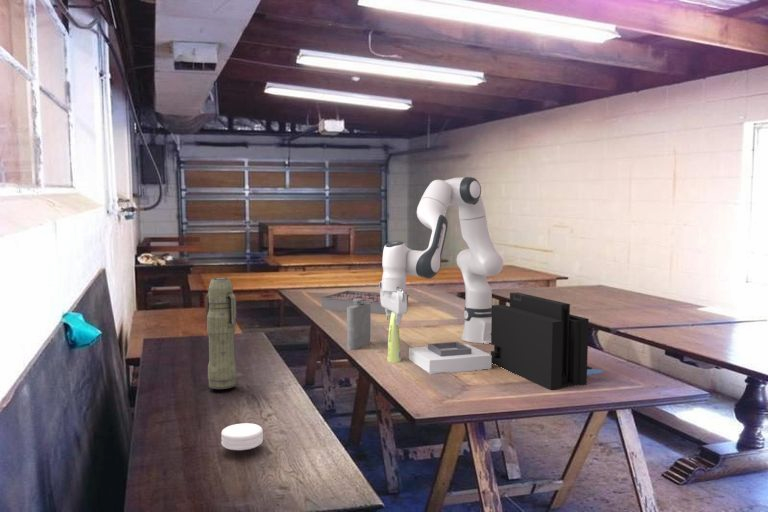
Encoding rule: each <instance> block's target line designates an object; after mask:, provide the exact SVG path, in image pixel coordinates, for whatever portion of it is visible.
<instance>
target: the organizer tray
mask: <svg viewBox="0 0 768 512" xmlns="http://www.w3.org/2000/svg"><path fill="white" fill-rule="evenodd" d="M403 292H404V293H405V294H406V296H407V306H408V305H409V297H410V294H408V293H407V291H403ZM320 299H321V300H320V305H321V308H320V309H321V310H325V311H327V310H328V311H338V312H339V311H340V312H347V307H349V306H352V305H354V302H353V299H362V302H361V303H370V314H376V315H386V311H385V308H384V307H382V306H381V301H380V292H375V291H373V292H372V291H360V290H359V291H358V290H343V291H340V292H336V293H333V294H329V295H325V296H321V297H320ZM391 312H392V311H391Z"/></svg>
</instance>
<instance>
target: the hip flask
mask: <svg viewBox="0 0 768 512" xmlns="http://www.w3.org/2000/svg"><path fill="white" fill-rule="evenodd" d="M353 302H354V305H352V306H349V307H347V311H346V316H347V317H346V326H347V327H346V328H347V329H346V333H347V334H346V350H347V351H356V350H358V349H360V348H362V347H365V346H367V345H370V344H371V313H370V303H361V302H362V299H353Z"/></svg>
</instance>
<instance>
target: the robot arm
mask: <svg viewBox="0 0 768 512" xmlns="http://www.w3.org/2000/svg"><path fill="white" fill-rule="evenodd" d="M481 194H482V188H481V184H480V182H479V181H478V180H477V178H475V177H471V176H465V177H462V176H461V177H452V178H449V179H445V180H444V179H434V180H432V181H431V182H430V183H429V185H428V186H427V188H426V189H425V191H424V192H423V195H422V196H421V198H420V200H419V203H418V205H417V208H416V216H417V219H418V220H419V222H420V223H421V224H422V225H424V226H425V227H426V228H428V229H429V230H431V235H430V238H429V242H428V243H429V244H428V247H427V248H426V249H425V250H415V249H411V248H410V247H407V246H406V243H405V242H403V241H401V240H400V241H399V240H398V241H397V240H396V241H389V242H387V243H386V244H385V245H384V247H383V250H382V263H381V265H382V271H383V272H382V276H381V281H380V282H378V288H379V289H380V290H379V293H380V301H381V306H382V307H384V308H385V311H386V314H385V316H386V321H388V322H390V317H391V311H392V312H394V313H396V320H395V325H398V326H401V323H402V321H401V320H402V318H403V315H406V314H407V313H408V305H407V296H406V294H405V293H404V292H406V291H407V290H406V289H407V288H406V287H407V276H414V277H421V278H424V279H432V278H434V277H436V275H438V273H439V272H440V269H441V264H442V254H443V249H444V245H445V241H446V237H447V232H448V226H449V223H448V219H447V217H446V213H447V210H448V208H449V206H457V208H458V217H459V226H460V232H461V237H462V239H463V241H464V242H465V243H466V244H467V246H468V248H465V249H463V250H461V251H459V253H458V254H457V256H456V264H457V265H456V266H457V267H458V269H460V272H461V275H462V279H463V283H464V288H465V289H464V290H465V306H464V311H463V313H464V314H463V317H464V324H463V331H462V335H461V340H462V341H463V342H468V343H472V344H473V343H475V344H483V343H484V344H483V345H490V344H489V343H491V322H492V304H493V303H492V302H493V296H492V294H493V289H492V287H491V286H490V285H489V282H488V279H487V277H492V276H497V275H499V273H501V271H502V269H503V267H504V260H503V258H502V255H500V254H499V252H498V251H497V250H496V248H495V246H494V244H493V242H492V241H493V240H492V239H491V236H490V233H489V228H488V221H487V216H486V209H485V205H484V201H483V199H482V196H481ZM406 275H407V276H406Z"/></svg>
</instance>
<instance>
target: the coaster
mask: <svg viewBox="0 0 768 512" xmlns="http://www.w3.org/2000/svg"><path fill="white" fill-rule="evenodd" d="M263 432H264V430H263V428H262V427H261V425H259V424H255V423H250V422H249V423H248V422H247V423H245V422H243V423H235V424H231V425H228V426H226V427H224V428H223V429H222V430H221V433H220V434H221V438H220V439H221V442H220V443H221V446H222V447H224V448H225V449H227V450H231V451H245V450H251V449H255V448H256V447H258V446H260V445H261V444H262V443H263V440H264V438H263V436H264V435H263Z"/></svg>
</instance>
